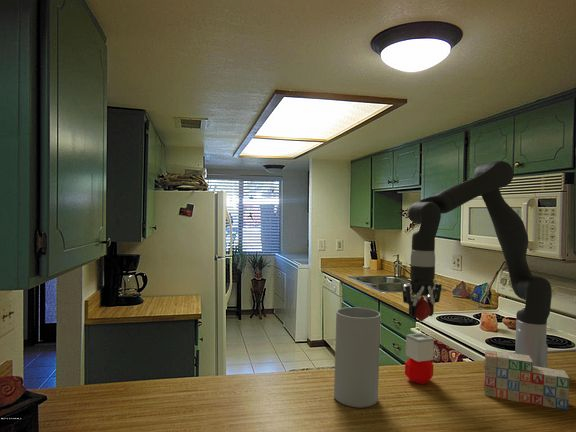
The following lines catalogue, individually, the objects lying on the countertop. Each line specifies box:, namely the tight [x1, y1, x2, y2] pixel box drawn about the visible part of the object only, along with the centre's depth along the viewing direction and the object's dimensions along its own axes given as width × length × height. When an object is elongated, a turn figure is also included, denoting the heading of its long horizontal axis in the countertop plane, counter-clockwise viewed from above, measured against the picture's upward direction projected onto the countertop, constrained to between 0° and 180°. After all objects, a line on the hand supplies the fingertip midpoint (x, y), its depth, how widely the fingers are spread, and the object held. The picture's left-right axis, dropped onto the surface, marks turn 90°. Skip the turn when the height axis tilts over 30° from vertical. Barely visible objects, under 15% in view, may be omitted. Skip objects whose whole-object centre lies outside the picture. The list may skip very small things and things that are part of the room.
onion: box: [415, 296, 431, 322], centre depth 134 cm, size 6×6×8 cm
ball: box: [404, 357, 434, 385], centre depth 134 cm, size 8×8×8 cm
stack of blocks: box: [483, 349, 570, 411], centre depth 123 cm, size 21×6×12 cm, turn 66°
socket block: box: [405, 332, 435, 362], centre depth 134 cm, size 6×6×7 cm
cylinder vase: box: [333, 306, 381, 409], centre depth 120 cm, size 12×12×25 cm
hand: (421, 316), depth 134 cm, fingers closed on onion, 6 cm apart
